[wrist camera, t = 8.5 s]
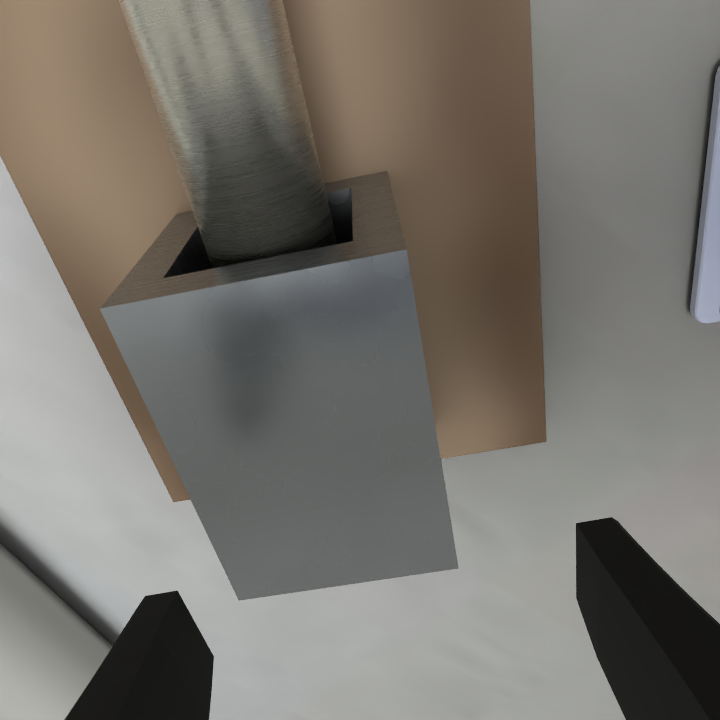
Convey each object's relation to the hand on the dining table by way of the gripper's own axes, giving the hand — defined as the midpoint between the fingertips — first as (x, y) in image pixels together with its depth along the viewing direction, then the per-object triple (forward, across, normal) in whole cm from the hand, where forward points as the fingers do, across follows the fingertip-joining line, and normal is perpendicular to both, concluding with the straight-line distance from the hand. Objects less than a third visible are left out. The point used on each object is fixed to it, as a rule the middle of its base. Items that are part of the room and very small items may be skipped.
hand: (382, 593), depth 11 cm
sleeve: (+9, +1, -1) cm, 9 cm away
